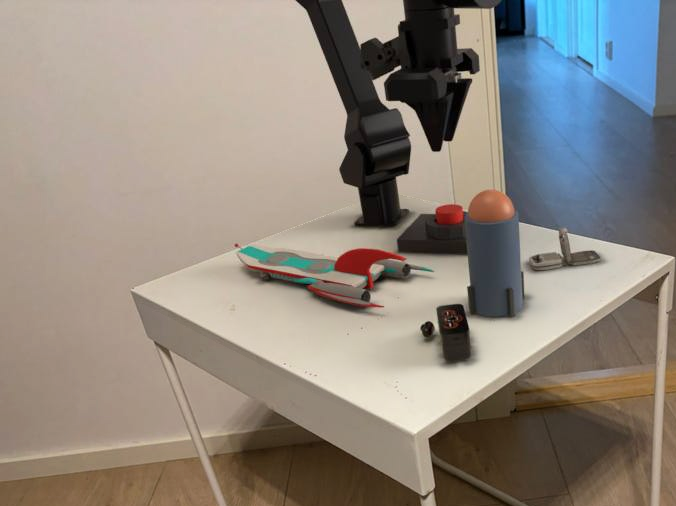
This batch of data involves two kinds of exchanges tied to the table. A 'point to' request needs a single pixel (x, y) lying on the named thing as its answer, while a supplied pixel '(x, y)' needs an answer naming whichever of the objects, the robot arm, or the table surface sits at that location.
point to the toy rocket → (493, 256)
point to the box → (433, 236)
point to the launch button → (449, 214)
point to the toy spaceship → (328, 270)
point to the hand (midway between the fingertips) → (442, 146)
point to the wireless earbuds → (451, 332)
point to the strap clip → (556, 260)
